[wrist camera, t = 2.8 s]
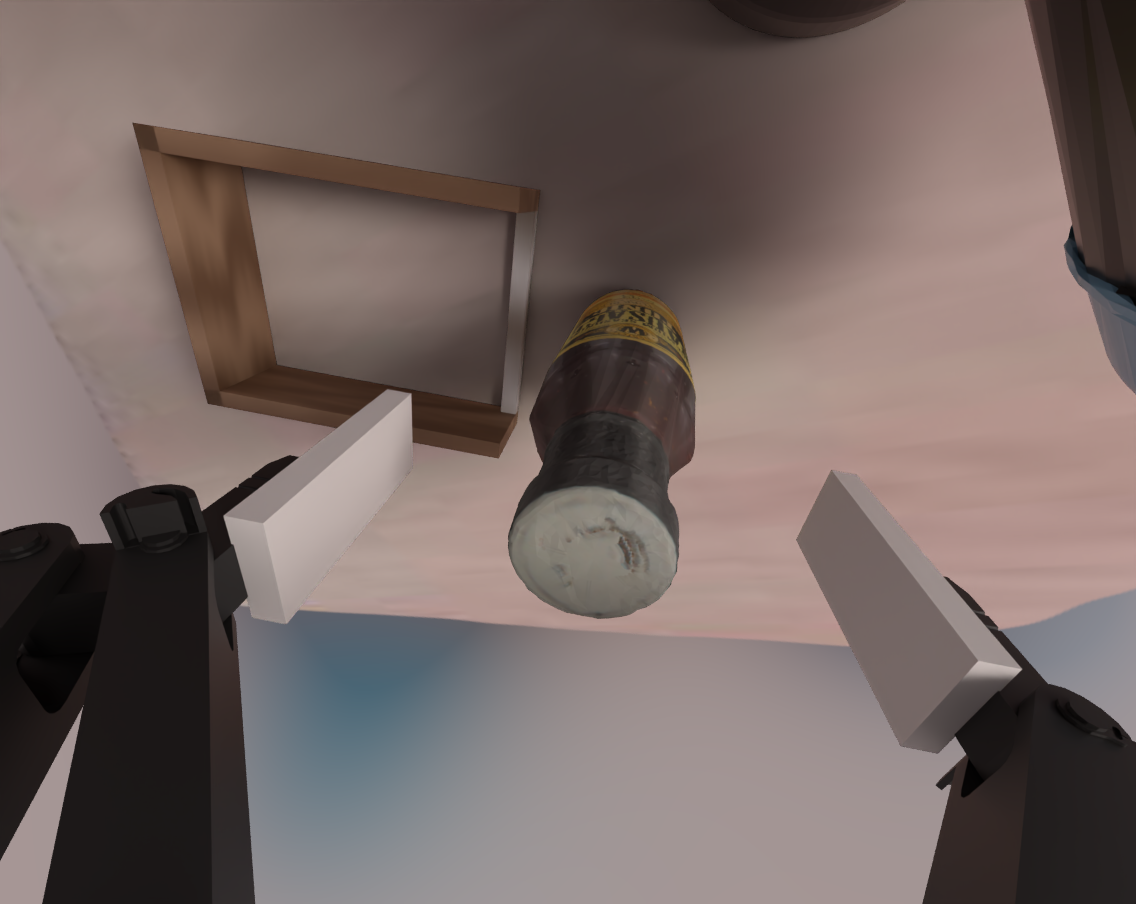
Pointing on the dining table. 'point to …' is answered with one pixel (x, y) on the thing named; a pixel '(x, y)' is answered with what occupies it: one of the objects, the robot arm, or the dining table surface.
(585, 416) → the sauce bottle
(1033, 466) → the dining table surface
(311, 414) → the frame
